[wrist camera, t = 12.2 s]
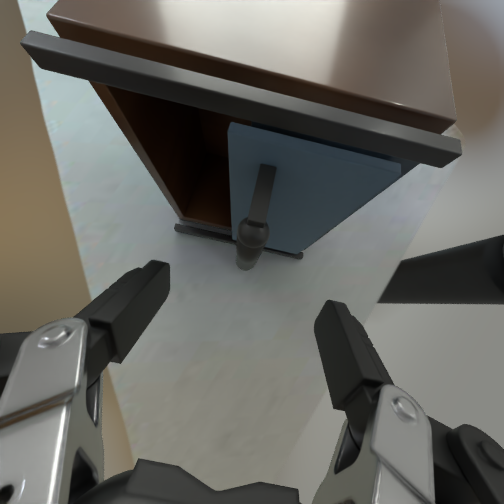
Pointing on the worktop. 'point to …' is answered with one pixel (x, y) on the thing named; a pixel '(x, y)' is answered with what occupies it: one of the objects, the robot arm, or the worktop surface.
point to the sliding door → (294, 189)
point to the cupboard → (257, 83)
